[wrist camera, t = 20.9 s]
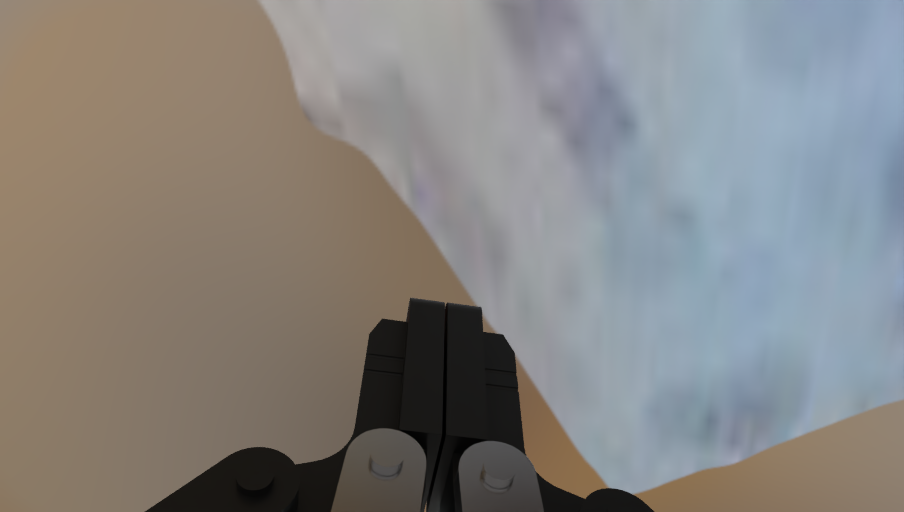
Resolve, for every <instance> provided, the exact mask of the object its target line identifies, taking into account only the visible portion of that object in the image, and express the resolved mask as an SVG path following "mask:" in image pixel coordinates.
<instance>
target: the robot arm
mask: <svg viewBox="0 0 904 512" xmlns="http://www.w3.org/2000/svg"><path fill="white" fill-rule="evenodd" d="M426 501H427V504H426ZM425 505H426V512H654V511H653V510H652V509H651V508H650V507H649V506H648V505H647V504H645V503H644V502H643V501H642V500H641V499H639V498H637V497H636V496H634V495H632V494H630V493H628V492H625V491H623V490H619V489H611V488H606V489H600V490H597V491H595V492H593V493H591V494H590V495H589V496H588V497H587V498H586V499H584V498H581V497H579V496H576V495H574V494H572V493H569V492H566V491H564V490H562V489H560V488H557V487H555V486H553V485H552V484H550V483H549V482H547V481H546V480H544V479H543V478H542V477H541V476H540V475H539V474H538V473H537V472H536V471H535V468H534V466H533V464H532V463H531V461H530V460H529V459H528V458H527V456H526V454H525V449H524V441H523V431H522V421H521V411H520V402H519V392H518V382H517V376H516V362H515V353H514V351H513V350H512V348H511V346H510V345H509V343H508V342H507V340H506V339H505V337H504V335H502V334H495V333H487V332H483V323H482V308H481V307H476V306H469V305H461V304H454V303H447V304H446V306H445V303H444V302H438V301H431V300H423V299H415V298H410V301H409V307H408V313H407V319H406V322H403V321H395V320H388V319H382V320H381V321H380V322H379V323H378V324H377V326H376V327H375V328H374V329H373V330H372V332H371V333H370V334H369V340H368V346H367V353H366V359H365V365H364V373H363V378H362V385H361V391H360V397H359V404H358V410H357V417H356V424H355V429H354V433H353V435H352V437H351V439H350V441H349V442H348V444H347V445H346V446H345V447H344V448H343V449H342V450H340V451H339V452H337V453H336V454H334V455H332V456H330V457H328V458H325V459H323V460H318V461H314V462H308V463H302V464H296V465H295V464H294V462H293V461H292V460H291V459H290V458H289V457H288V456H286V455H285V454H283V453H281V452H279V451H277V450H274V449H271V448H265V447H254V448H247V449H243V450H240V451H237V452H235V453H233V454H231V455H229V456H228V457H226V458H225V459H223V460H222V461H220V462H219V463H217V464H216V465H214V466H213V467H211V468H210V469H208V470H207V471H205V472H204V473H202V474H201V475H199V476H198V477H196V478H195V479H193V480H192V481H190V482H189V483H187V484H186V485H184V486H183V487H181V488H180V489H179V490H177V491H175V492H174V493H172V494H171V495H169V496H168V497H166V498H165V499H163V500H162V501H160V502H159V503H157V504H156V505H154V506H153V507H151V508H150V509H148V510H147V511H145V512H424V509H425Z"/></svg>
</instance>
